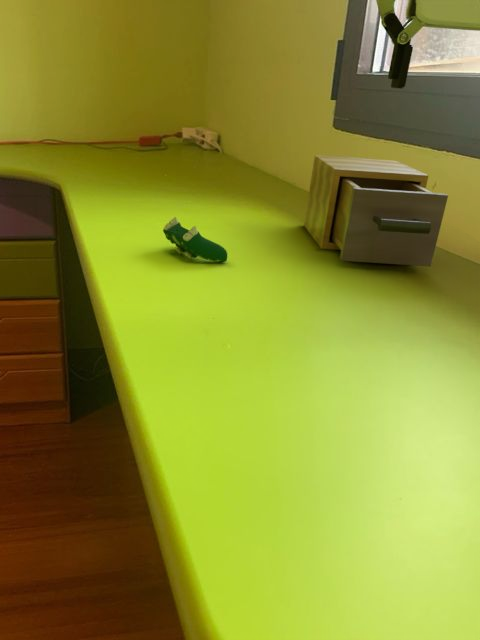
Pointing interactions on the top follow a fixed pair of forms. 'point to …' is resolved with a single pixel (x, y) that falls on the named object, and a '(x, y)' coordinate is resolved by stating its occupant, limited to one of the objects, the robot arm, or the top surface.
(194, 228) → the green shoe
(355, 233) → the drawer
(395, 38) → the robot arm
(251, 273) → the top surface
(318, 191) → the cabinet
